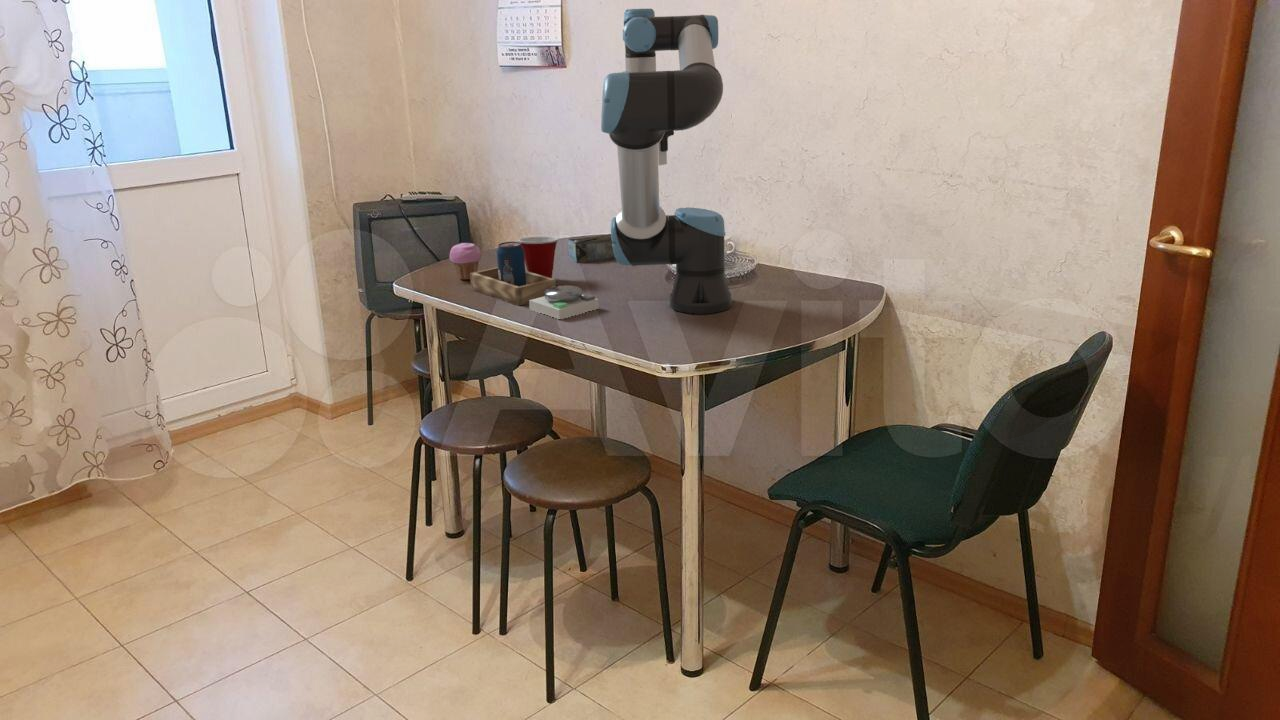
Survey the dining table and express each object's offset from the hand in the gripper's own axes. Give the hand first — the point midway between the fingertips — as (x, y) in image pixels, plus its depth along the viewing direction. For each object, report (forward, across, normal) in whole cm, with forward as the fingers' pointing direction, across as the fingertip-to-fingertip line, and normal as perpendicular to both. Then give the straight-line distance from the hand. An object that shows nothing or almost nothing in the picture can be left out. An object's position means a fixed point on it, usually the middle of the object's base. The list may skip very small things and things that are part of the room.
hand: (643, 162), depth 238 cm
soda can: (+31, +19, +30) cm, 47 cm away
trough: (+32, +19, +30) cm, 48 cm away
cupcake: (+32, +41, +30) cm, 60 cm away
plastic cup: (+32, +23, +18) cm, 43 cm away
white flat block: (+32, -3, +30) cm, 44 cm away
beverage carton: (+32, +32, -11) cm, 47 cm away
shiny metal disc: (+28, -3, +30) cm, 41 cm away
